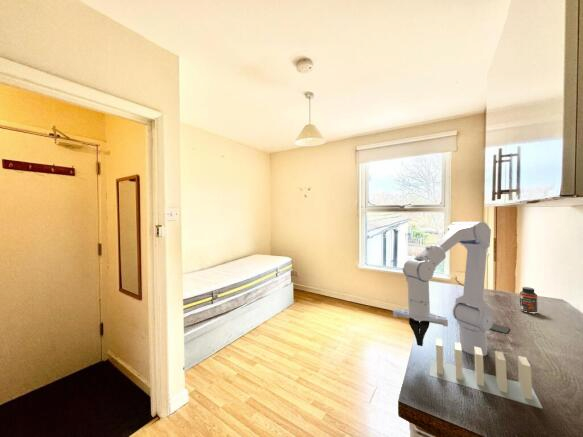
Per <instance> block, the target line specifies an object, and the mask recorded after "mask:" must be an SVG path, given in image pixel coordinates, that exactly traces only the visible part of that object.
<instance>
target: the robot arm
mask: <svg viewBox="0 0 583 437" xmlns="http://www.w3.org/2000/svg"><path fill="white" fill-rule="evenodd" d="M491 234H492V230H491V228H490V227H489V225H488V224H487V223H486V222H485V221H453V222H451V224H450V225H447V232H446V233H445V234H444V235H443V236H442V237H441V238H440V239H439V240H438V242H436V244H429V245H428V244H427V245H426V246H425V249H423V250H422V251H421V252H420V253H419V254H417V255H416V256H415V257H414V259H413V258H412V259H411V258H410V259H409V260H407V261H405V263H404V265H403V268H402V273H403V275H404V277H405V281H406V283H407V301H408V302H407V303H408V307H407V308H408V309H401V308H394V309H393V310H392V316H393V317H395V318H397V317H398V318H399V317H400V318H404V319H408V324H409V327H410V328H411V330H412V332H413V334H414V337H415V339H416V340H415V341H416V345H417V346H419V347H423V345H424V338H425V335H426V333H427V331H428V329H429V327H430V324H436V325H442V326H443V327H449V326H448V324H449V322H448V321H449V320H448V317H446V316H441V315H439V314H438V315H437V314H434V313H431V310H430V309H431V308H430V306H431V305H430V282H429V281H430V280H431V279H432V278H433V276H434V272H435V271H436V268H437V266H439V265H440V264H441V263H442V262H443V261H444V260H445V259H446V256H447V254H446V253H447V252H448V251H449V250H451V249H452V248H454V246H456V245H457V244H460V245H461V246H464V248H465V250H467V251H466V262H465V272H464V284H463V294H462V295H461V296H458V297H457V298H455V303H454V305H453V308H452V316H453V318H454V319H455V320H456V322H457V324H458V325H459V328H458V329H459V341H458V342H457V343H461V348H462V352H463V351H464V352H465V353H468V354H470V355H473V356H474V346H475V347H479V348H481V350H482V354H483V357H485V356H487V355H488V337H487V331H490V330H489V329H490V328H491V327H492V325H493V324H494V316H493V308H492V306H491V305H490V304H489V303H488V302H486V300H484V291H485V290H484V287H485V277H486V276H485V275H486V265H487V253H488V248H490V246H491V245H490V244H491Z"/></svg>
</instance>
